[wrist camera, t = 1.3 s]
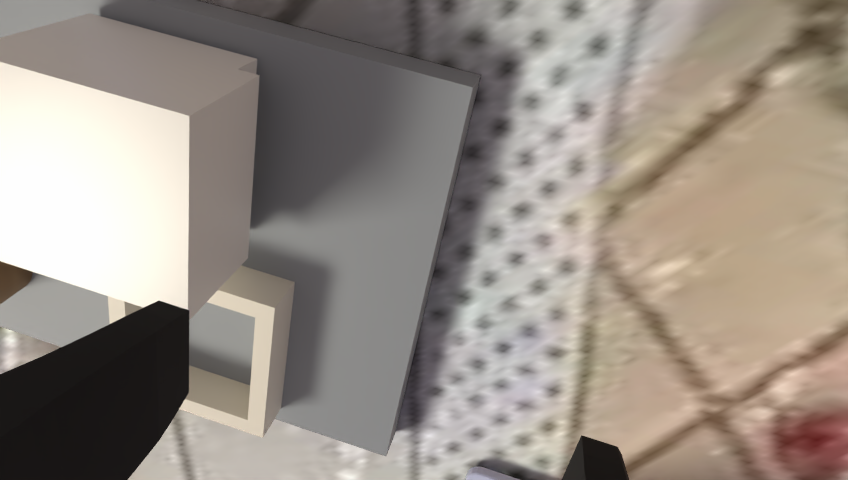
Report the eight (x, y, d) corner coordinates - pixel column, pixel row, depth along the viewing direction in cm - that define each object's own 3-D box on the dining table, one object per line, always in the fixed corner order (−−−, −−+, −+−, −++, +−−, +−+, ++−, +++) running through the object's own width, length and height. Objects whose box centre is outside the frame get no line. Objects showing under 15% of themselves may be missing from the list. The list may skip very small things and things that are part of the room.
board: (481, 75, 18) (461, 105, 16) (395, 432, 25) (373, 488, 23) (-96, -78, 20) (-188, -71, 18) (-24, 293, 27) (-82, 332, 25)
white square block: (278, 64, 18) (189, 115, 14) (264, 240, 21) (187, 322, 17) (89, 13, 18) (-44, 49, 15) (101, 191, 21) (-7, 259, 18)
